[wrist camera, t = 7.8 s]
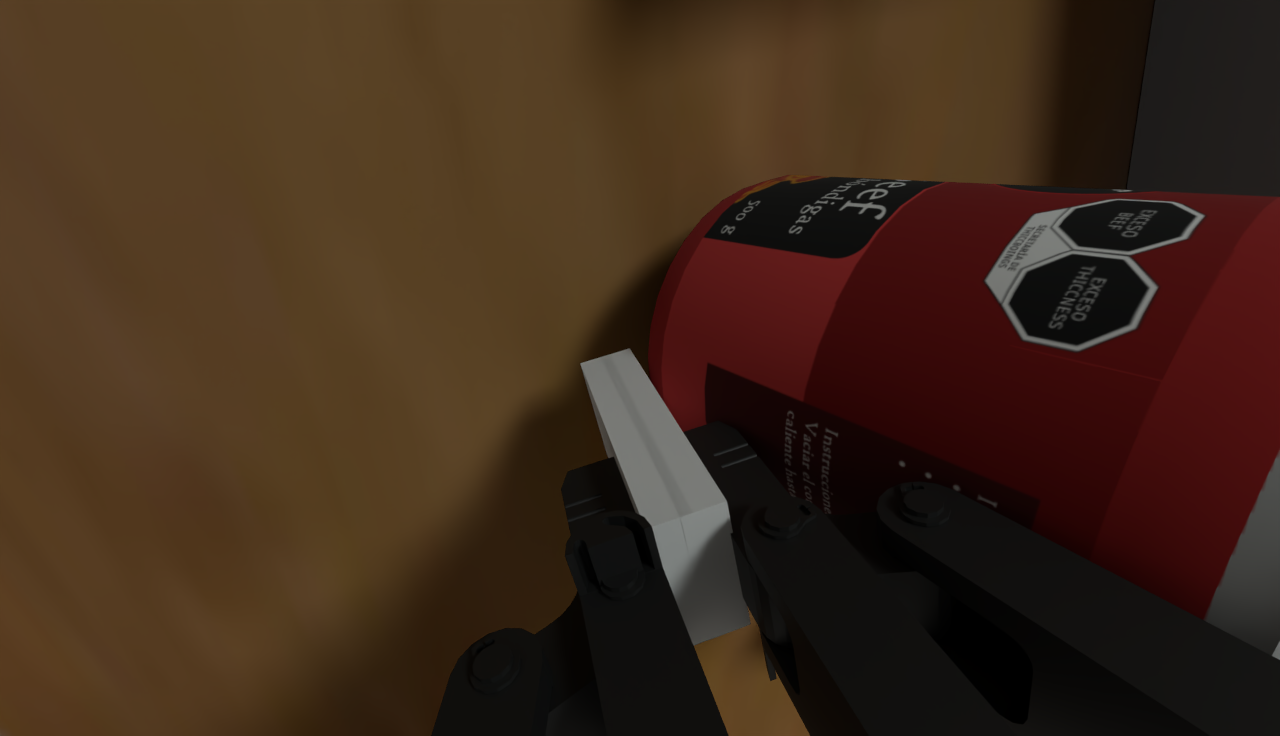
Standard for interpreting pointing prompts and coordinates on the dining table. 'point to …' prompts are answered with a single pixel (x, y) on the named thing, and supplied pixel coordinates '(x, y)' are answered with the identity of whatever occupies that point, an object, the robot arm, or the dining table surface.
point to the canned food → (1005, 364)
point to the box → (1210, 100)
